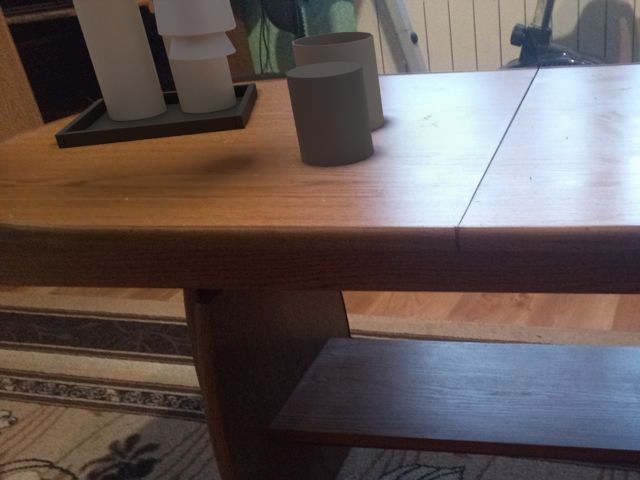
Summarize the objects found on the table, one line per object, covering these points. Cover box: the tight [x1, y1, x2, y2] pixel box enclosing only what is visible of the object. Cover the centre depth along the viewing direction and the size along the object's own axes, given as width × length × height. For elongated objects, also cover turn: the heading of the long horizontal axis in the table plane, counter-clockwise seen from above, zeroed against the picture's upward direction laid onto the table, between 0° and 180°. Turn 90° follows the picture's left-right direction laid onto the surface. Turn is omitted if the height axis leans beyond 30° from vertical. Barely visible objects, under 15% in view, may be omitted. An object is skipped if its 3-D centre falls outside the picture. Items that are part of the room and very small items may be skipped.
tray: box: [54, 82, 259, 149], centre depth 91 cm, size 21×19×2 cm
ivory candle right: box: [161, 35, 237, 113], centre depth 92 cm, size 7×7×15 cm
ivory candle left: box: [72, 0, 167, 121], centre depth 91 cm, size 7×7×15 cm
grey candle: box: [285, 62, 375, 168], centre depth 70 cm, size 7×7×9 cm
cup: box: [291, 31, 385, 132], centre depth 79 cm, size 8×8×10 cm
